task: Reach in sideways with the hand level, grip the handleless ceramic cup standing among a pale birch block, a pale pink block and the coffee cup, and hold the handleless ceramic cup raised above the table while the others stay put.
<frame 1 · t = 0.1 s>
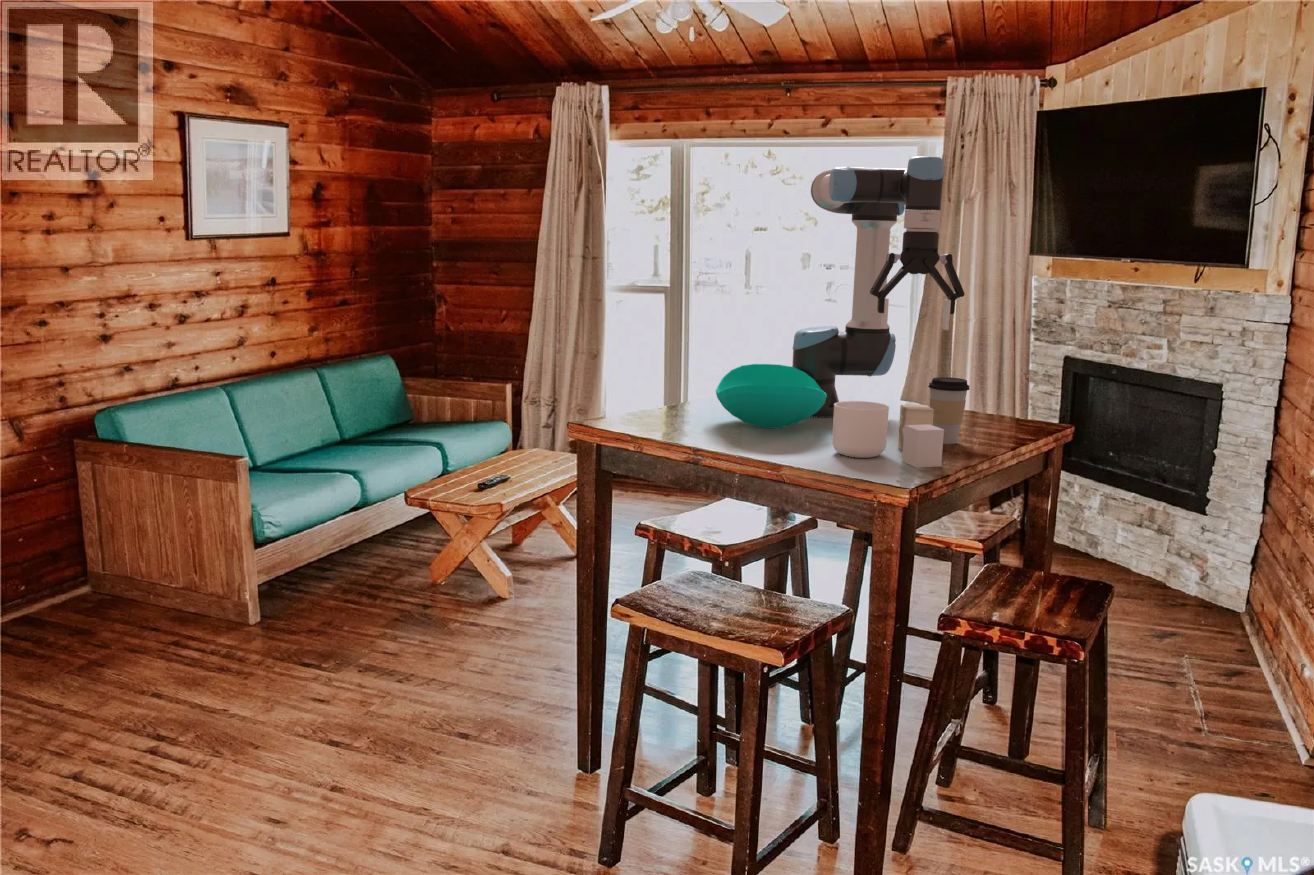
hand: (914, 328, 228), 28 cm above the table, tool pointing down, fingers open, 13 cm apart
pale pink block: (921, 463, 223), on the table
birch block: (913, 450, 237), on the table
handleless ceramic cup: (858, 455, 231), on the table
table top decor: (769, 426, 262), on the table
coffee cup: (944, 442, 247), on the table
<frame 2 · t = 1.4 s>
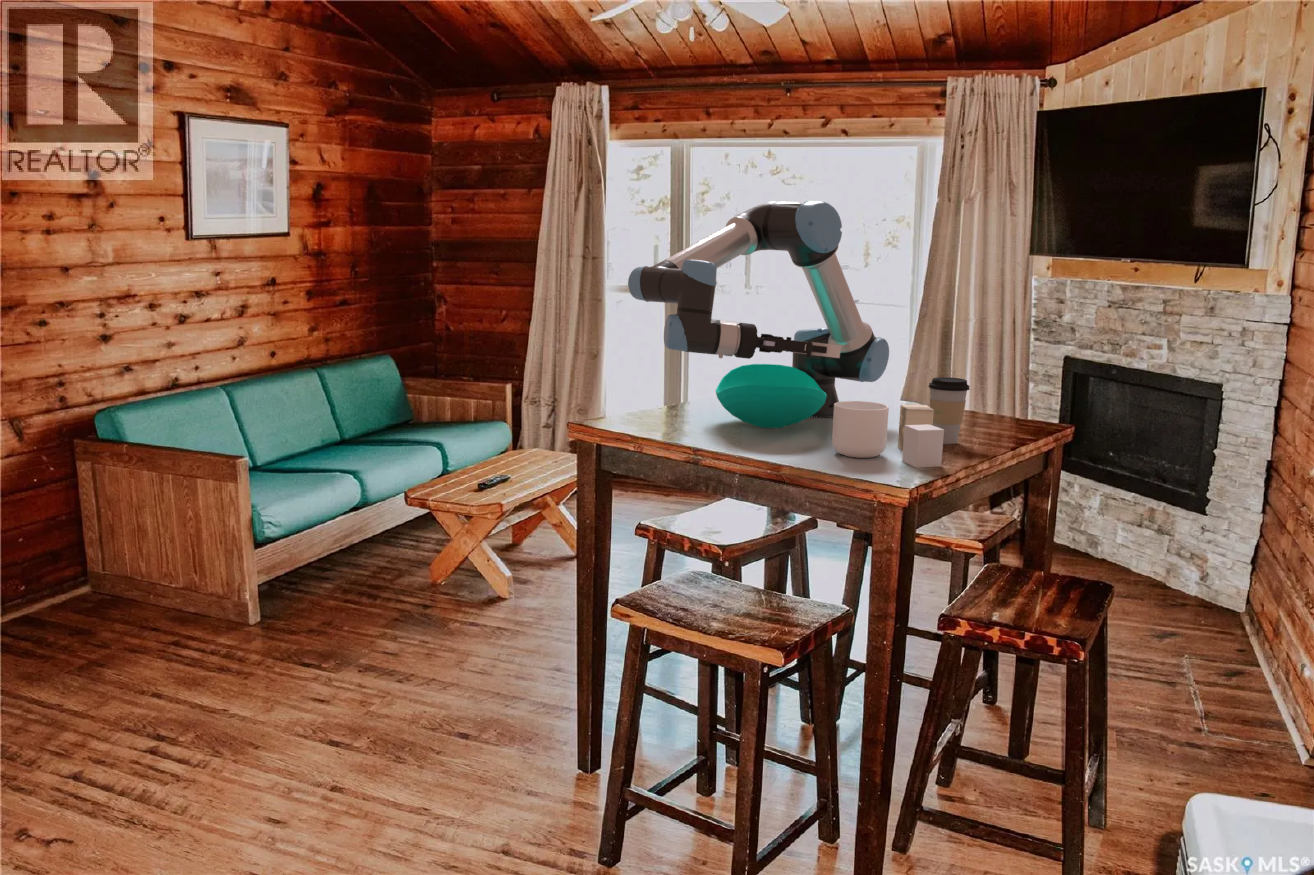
hand: (829, 350, 227), 23 cm above the table, tool horizontal, fingers open, 13 cm apart
nothing on the table moved.
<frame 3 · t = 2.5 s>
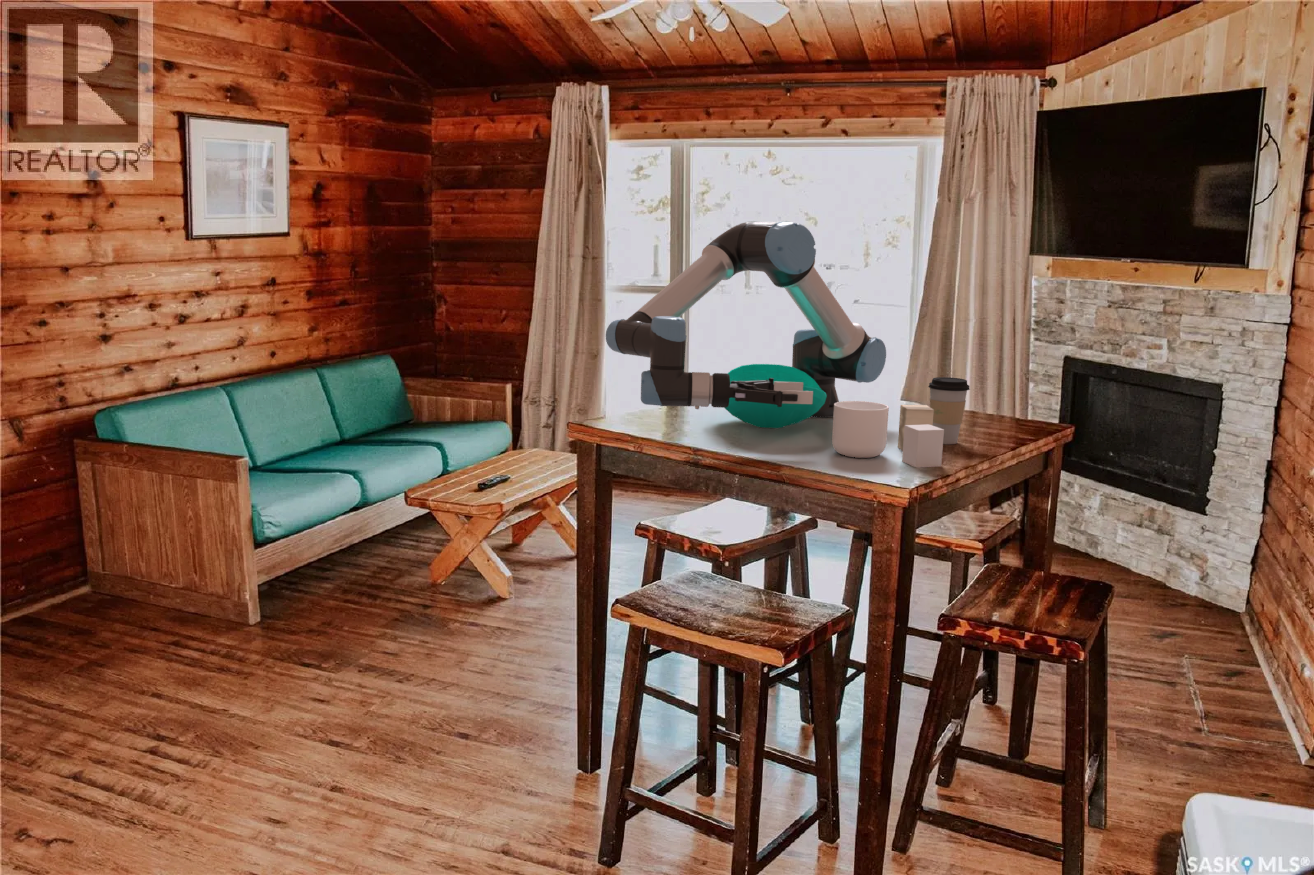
hand: (807, 392, 228), 14 cm above the table, tool horizontal, fingers open, 13 cm apart
nothing on the table moved.
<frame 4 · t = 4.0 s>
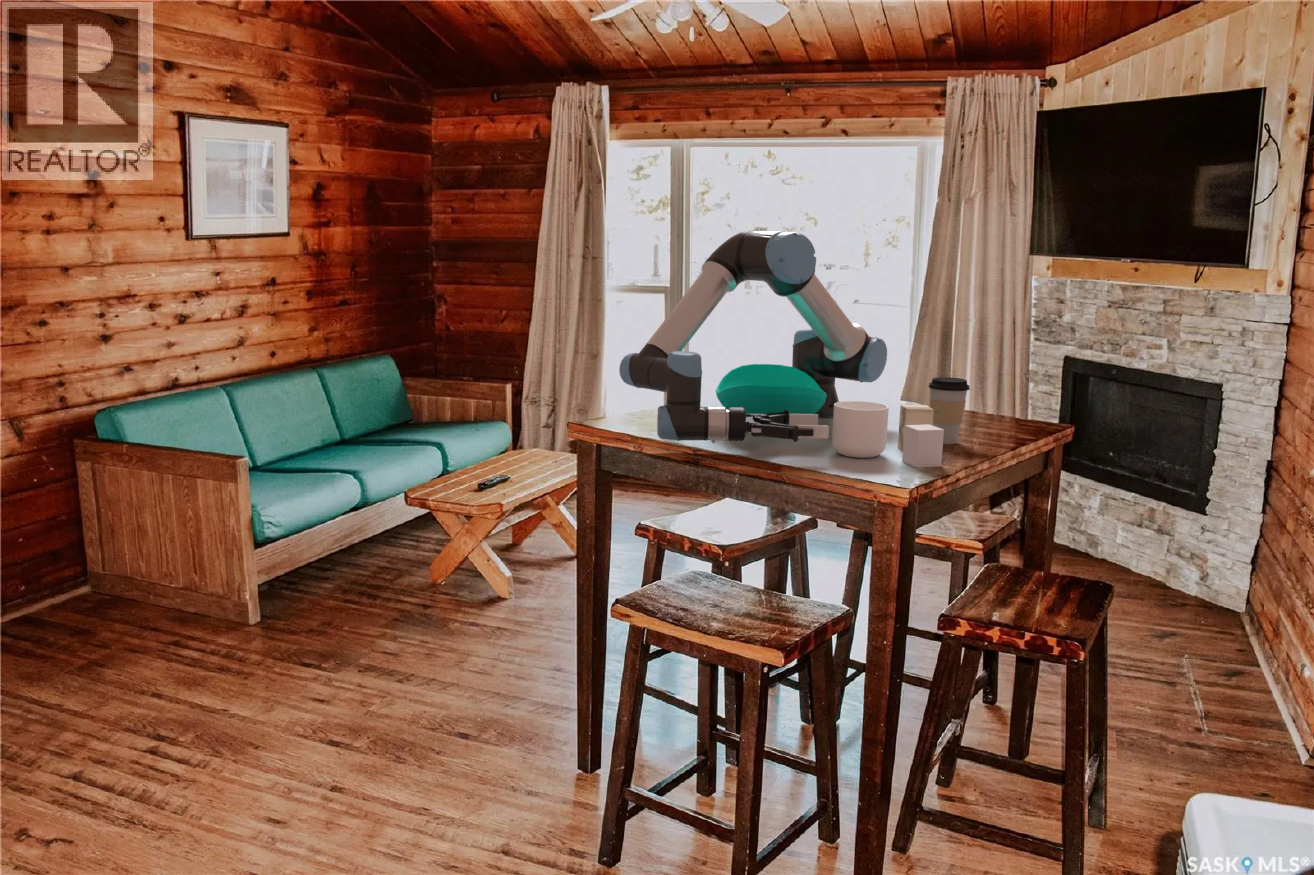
hand: (823, 425, 229), 6 cm above the table, tool horizontal, fingers open, 13 cm apart
nothing on the table moved.
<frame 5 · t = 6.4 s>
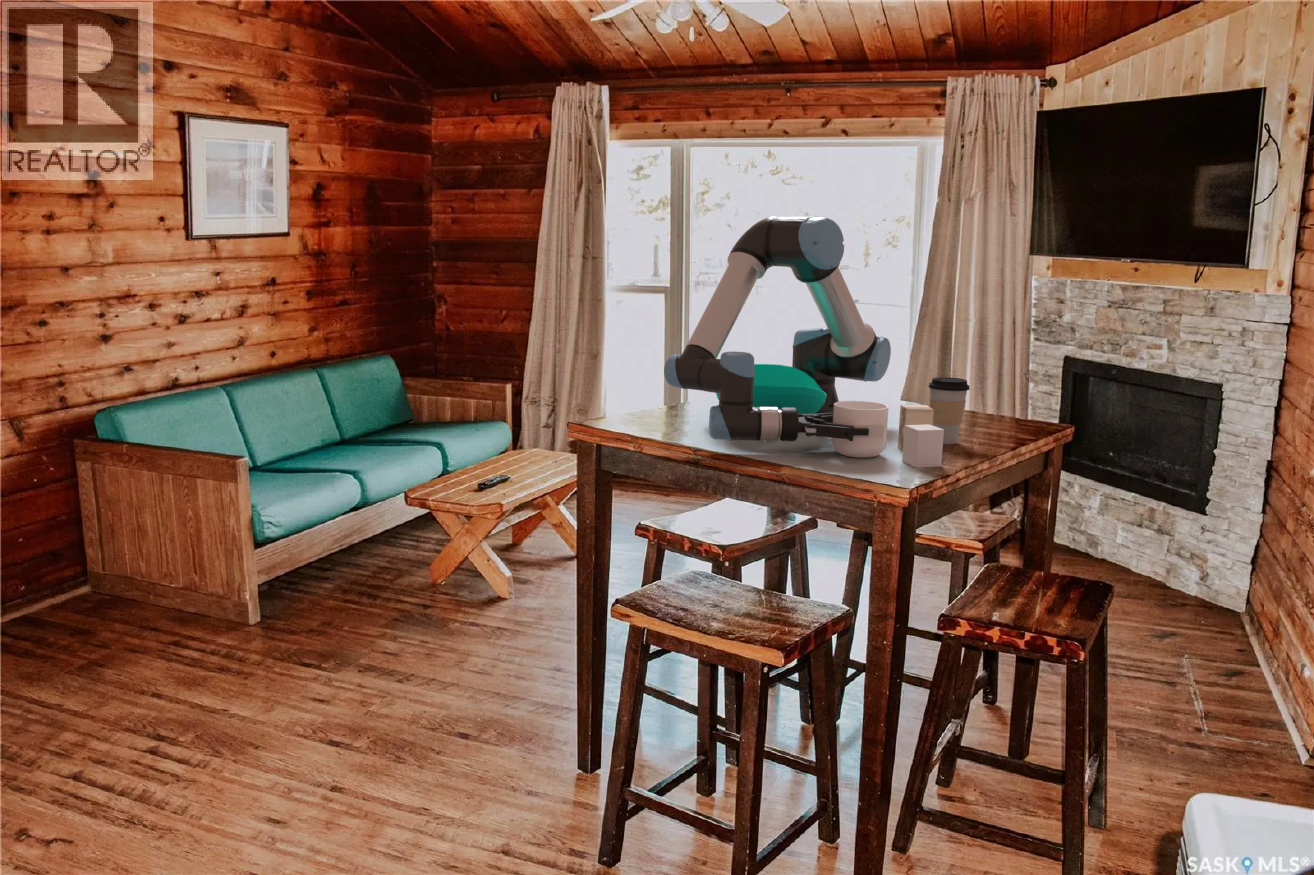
hand: (876, 426, 230), 7 cm above the table, tool horizontal, fingers closed on handleless ceramic cup, 12 cm apart
handleless ceramic cup: (857, 455, 231), on the table, touching gripper
everything else where it was.
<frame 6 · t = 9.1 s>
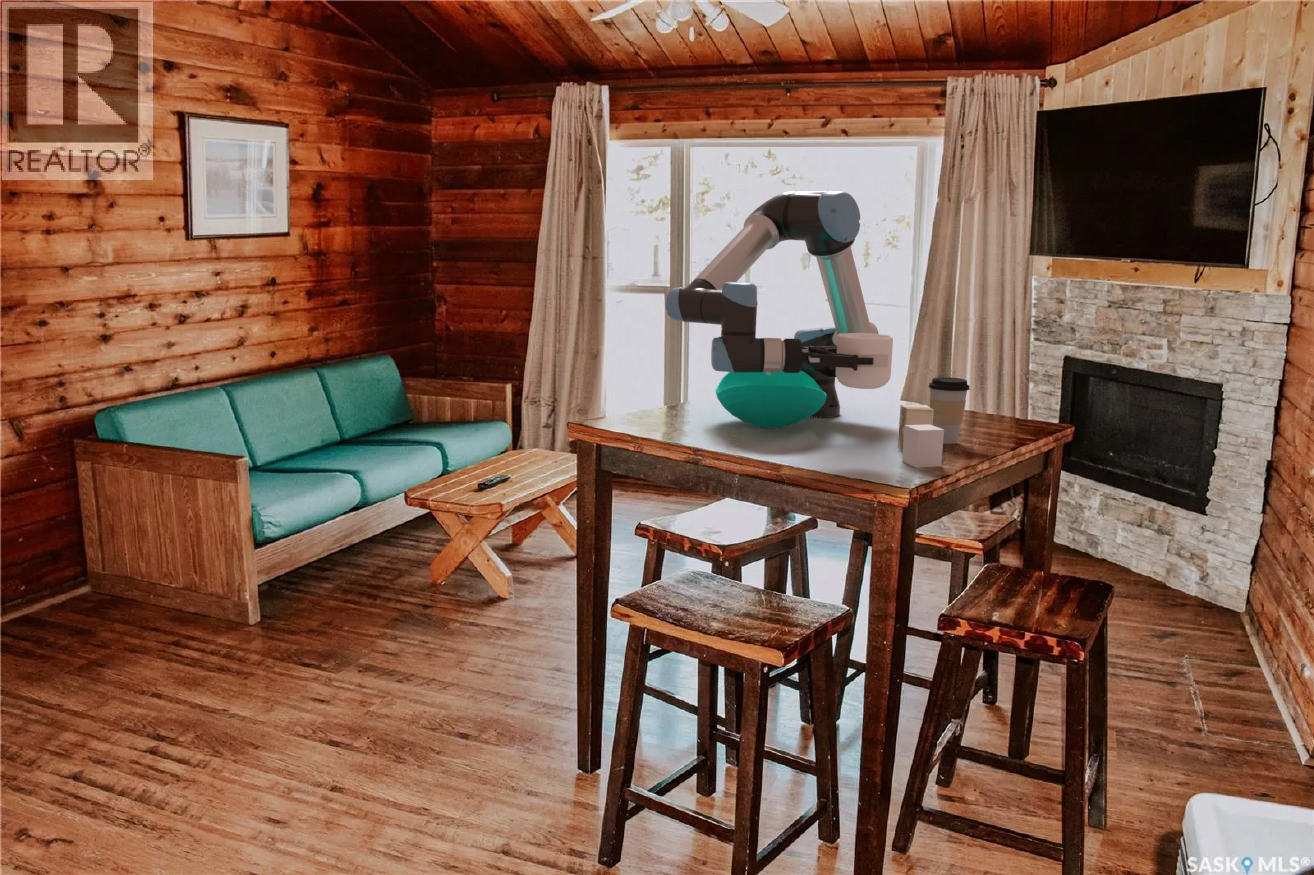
hand: (881, 357, 227), 22 cm above the table, tool horizontal, fingers closed on handleless ceramic cup, 12 cm apart
handleless ceramic cup: (862, 387, 228), point 15 cm above the table, touching gripper
everything else where it was.
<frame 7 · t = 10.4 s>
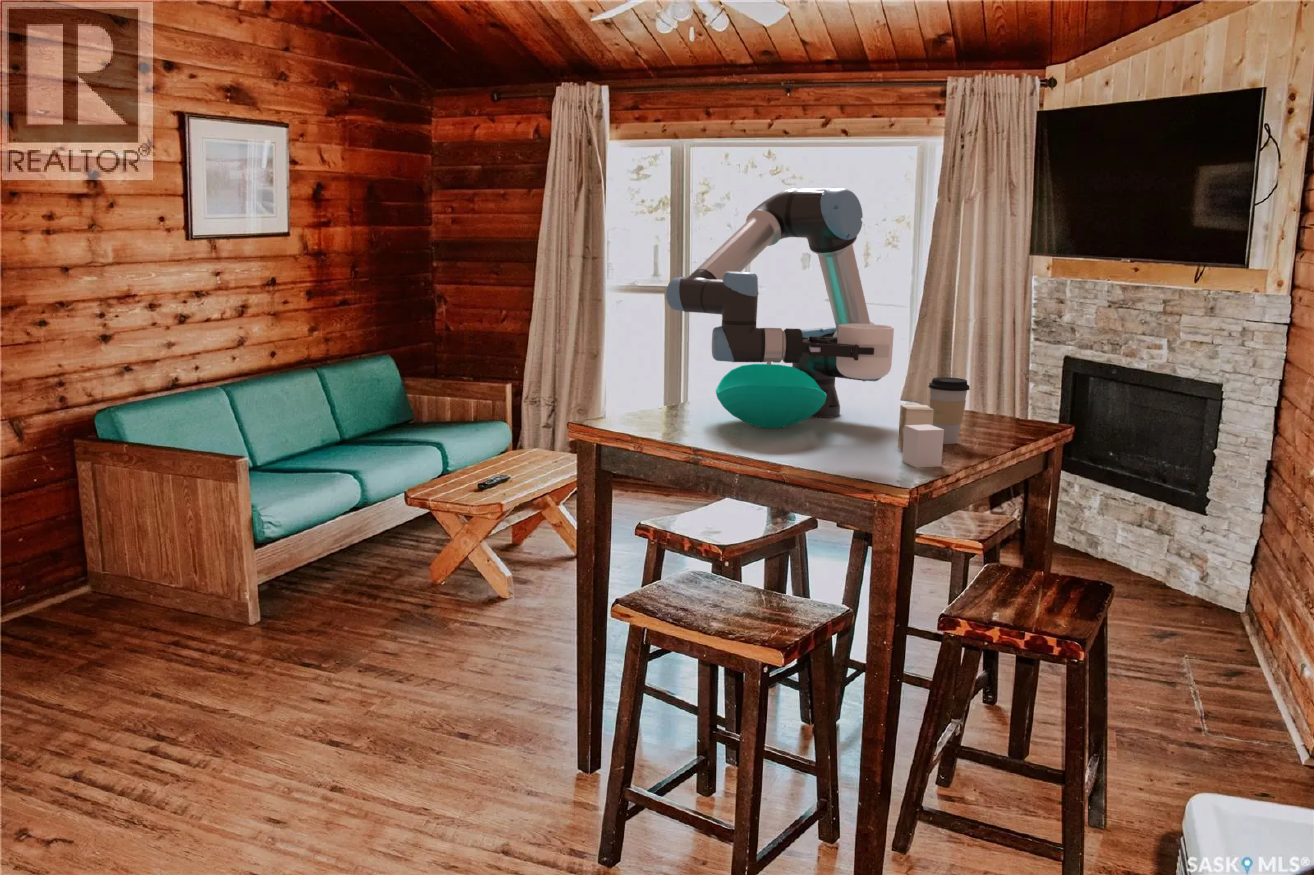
hand: (881, 347, 226), 24 cm above the table, tool horizontal, fingers closed on handleless ceramic cup, 12 cm apart
handleless ceramic cup: (862, 377, 227), point 17 cm above the table, touching gripper
everything else where it was.
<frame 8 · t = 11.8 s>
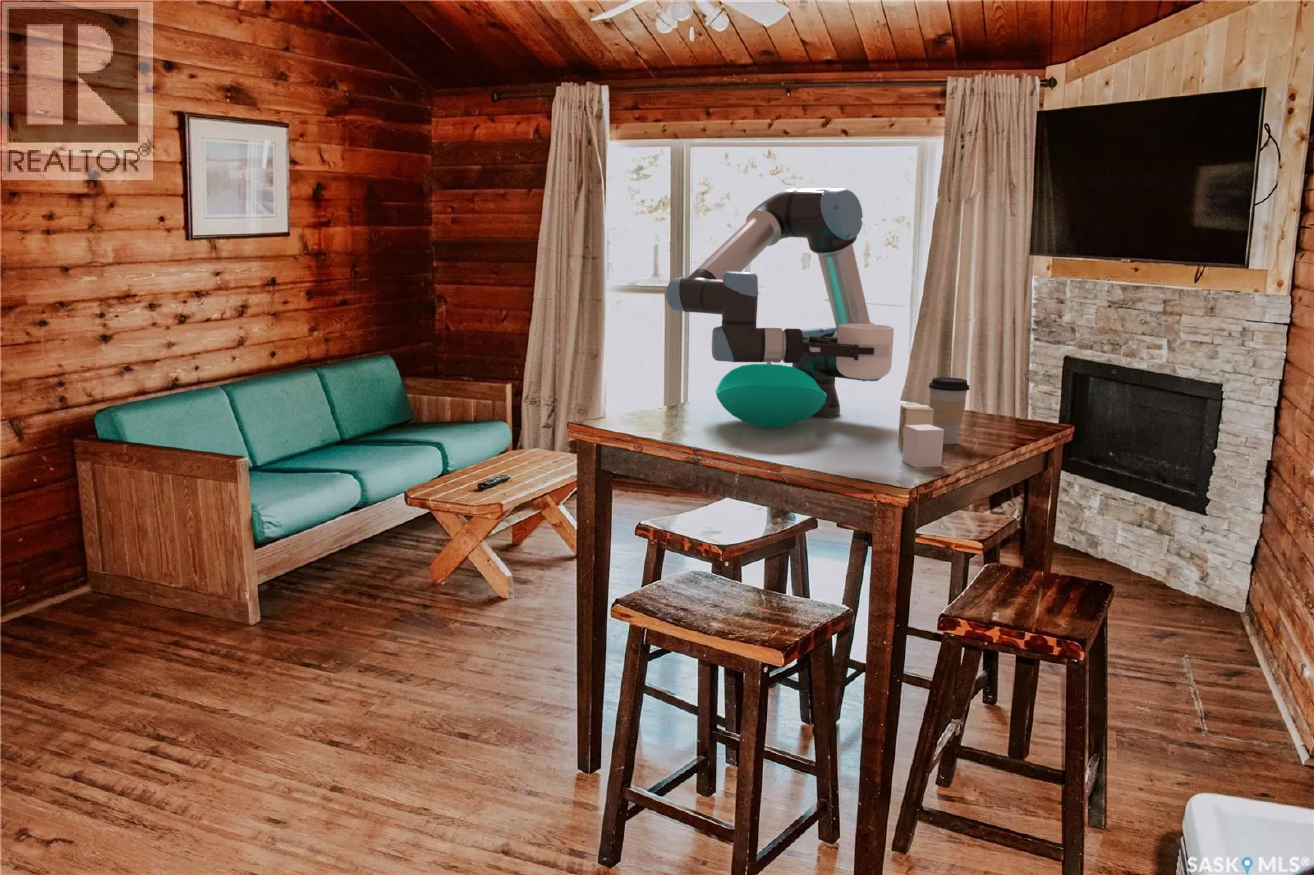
hand: (881, 347, 226), 24 cm above the table, tool horizontal, fingers closed on handleless ceramic cup, 12 cm apart
handleless ceramic cup: (862, 377, 227), point 17 cm above the table, touching gripper
everything else where it was.
at the end: the gripper is holding handleless ceramic cup; handleless ceramic cup point 17.2 cm above the table; pale pink block moved 0.1 cm from its start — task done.
